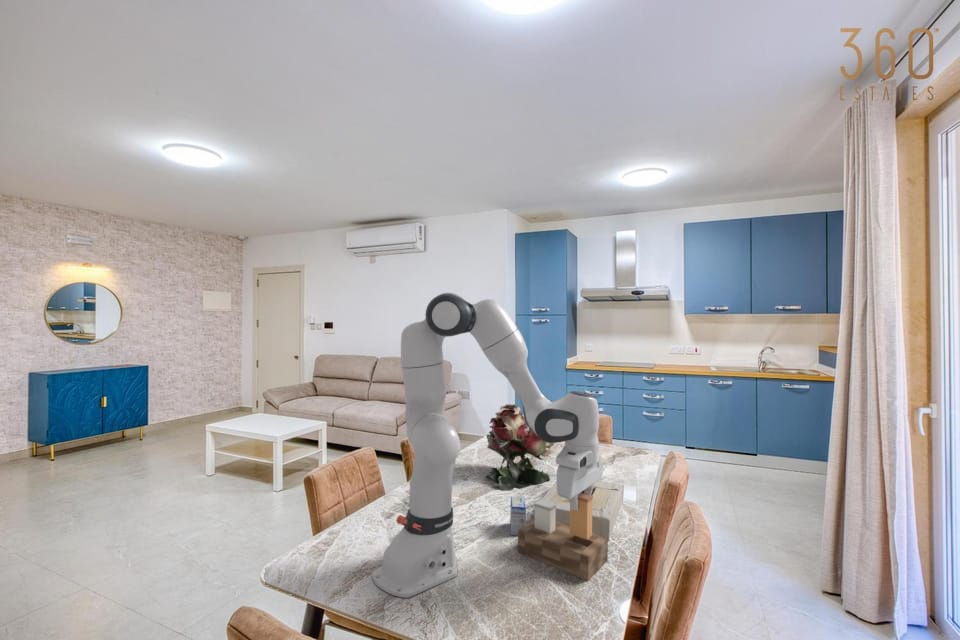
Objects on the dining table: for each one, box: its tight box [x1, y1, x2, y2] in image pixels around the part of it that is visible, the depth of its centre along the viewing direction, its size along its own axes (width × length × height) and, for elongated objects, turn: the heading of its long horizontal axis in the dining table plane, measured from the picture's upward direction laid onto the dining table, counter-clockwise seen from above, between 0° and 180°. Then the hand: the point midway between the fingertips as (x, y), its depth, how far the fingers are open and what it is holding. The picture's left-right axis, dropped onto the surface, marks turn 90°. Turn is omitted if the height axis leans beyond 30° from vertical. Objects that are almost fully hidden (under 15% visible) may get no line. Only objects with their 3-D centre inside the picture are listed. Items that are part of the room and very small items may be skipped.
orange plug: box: [570, 493, 593, 540], centre depth 116 cm, size 3×5×10 cm, turn 51°
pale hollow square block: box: [539, 480, 624, 542], centre depth 147 cm, size 23×8×32 cm
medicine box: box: [509, 496, 527, 536], centre depth 134 cm, size 8×4×9 cm, turn 178°
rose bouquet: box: [484, 403, 555, 492], centre depth 182 cm, size 26×29×30 cm
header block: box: [517, 519, 609, 582], centre depth 119 cm, size 12×21×6 cm, turn 51°
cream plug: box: [533, 499, 556, 534], centre depth 123 cm, size 3×5×10 cm, turn 51°
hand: (581, 504), depth 116 cm, fingers open, 6 cm apart
